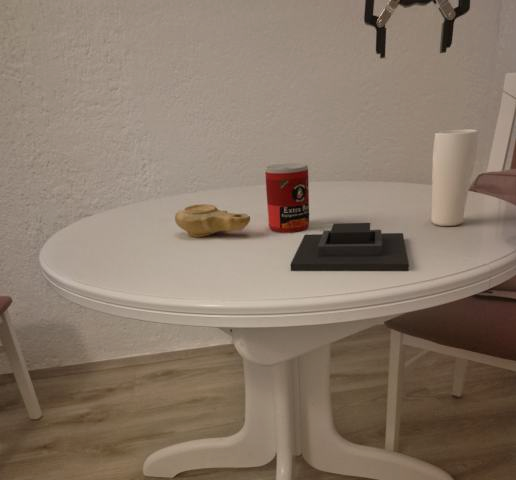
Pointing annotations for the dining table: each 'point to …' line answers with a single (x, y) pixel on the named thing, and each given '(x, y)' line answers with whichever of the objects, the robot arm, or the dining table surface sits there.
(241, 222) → the oil lamp
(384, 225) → the dining table surface
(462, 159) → the drinking glass
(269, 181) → the canned food
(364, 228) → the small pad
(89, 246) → the dining table surface
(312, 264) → the base pad
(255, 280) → the dining table surface
